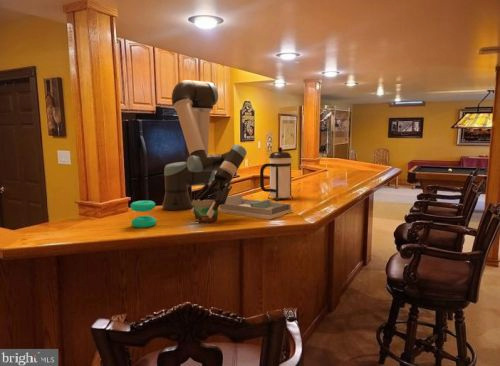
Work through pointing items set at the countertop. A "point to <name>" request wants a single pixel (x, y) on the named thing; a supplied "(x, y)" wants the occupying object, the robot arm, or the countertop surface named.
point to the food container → (204, 211)
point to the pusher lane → (253, 208)
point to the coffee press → (278, 175)
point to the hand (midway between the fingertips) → (200, 214)
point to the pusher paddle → (261, 204)
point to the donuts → (143, 220)
